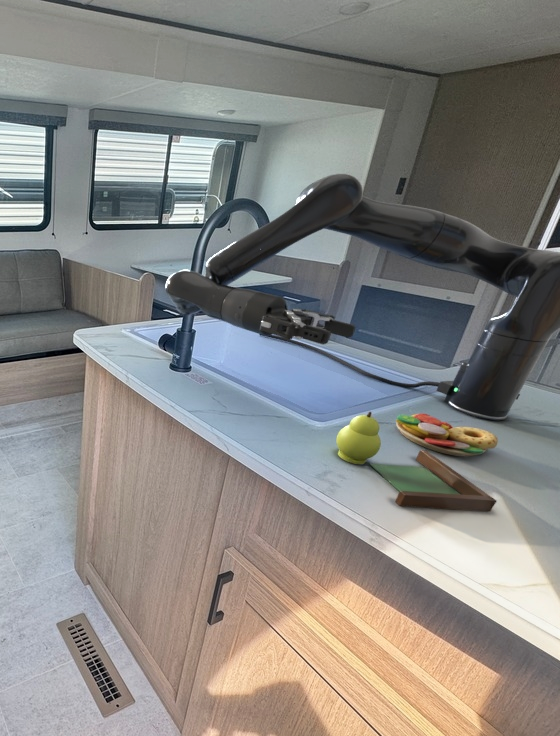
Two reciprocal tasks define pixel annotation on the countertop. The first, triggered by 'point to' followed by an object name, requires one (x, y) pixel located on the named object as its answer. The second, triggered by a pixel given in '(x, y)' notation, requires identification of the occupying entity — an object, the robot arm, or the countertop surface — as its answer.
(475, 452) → the toy food set
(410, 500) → the corner fence
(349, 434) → the pear
